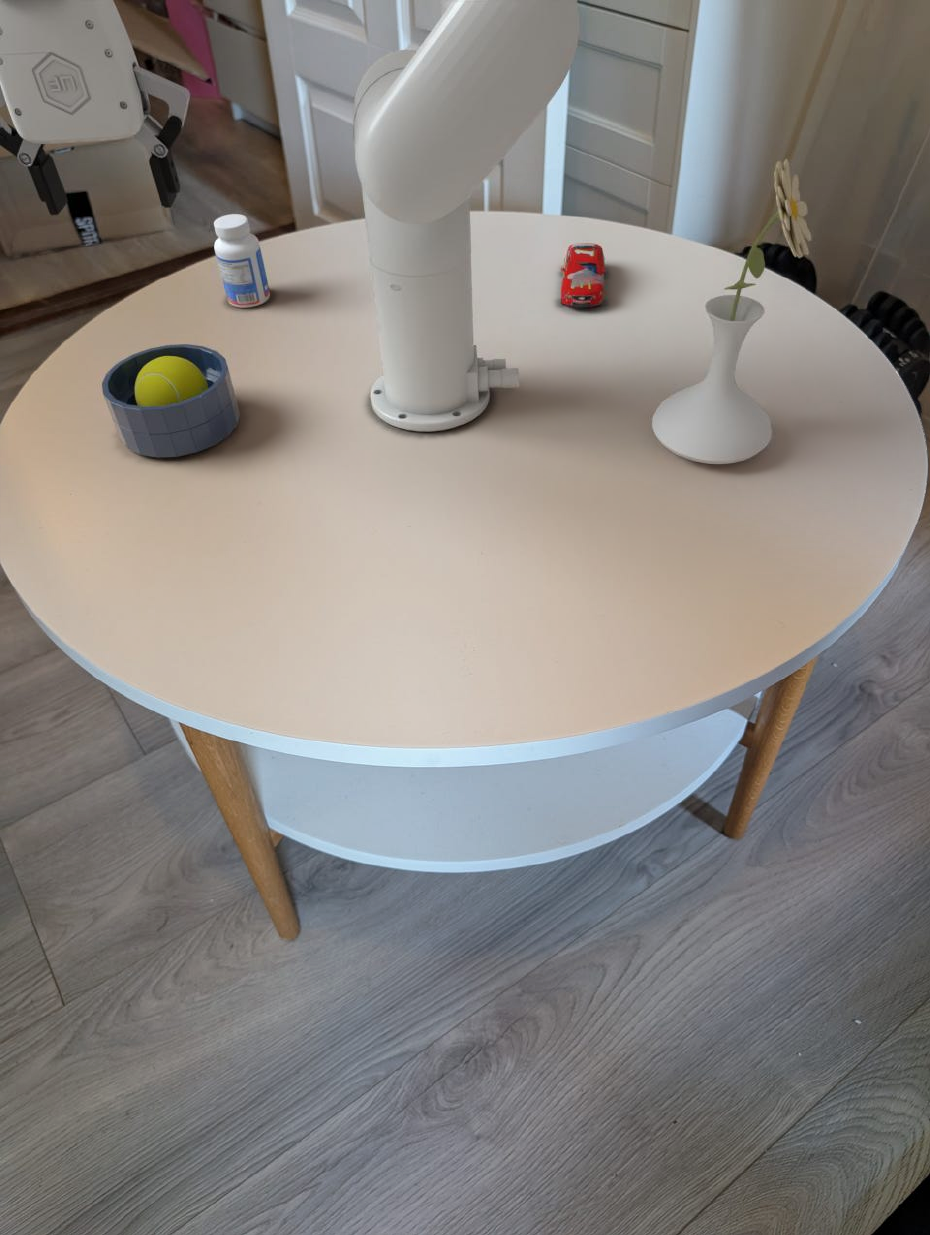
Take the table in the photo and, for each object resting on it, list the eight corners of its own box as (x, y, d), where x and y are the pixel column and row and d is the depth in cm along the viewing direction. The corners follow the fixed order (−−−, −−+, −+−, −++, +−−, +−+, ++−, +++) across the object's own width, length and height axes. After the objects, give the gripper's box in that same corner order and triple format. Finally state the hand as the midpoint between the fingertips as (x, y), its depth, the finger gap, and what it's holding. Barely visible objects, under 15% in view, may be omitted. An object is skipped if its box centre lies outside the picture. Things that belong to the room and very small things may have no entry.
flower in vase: (728, 491, 80) (793, 213, 62) (626, 444, 86) (659, 177, 68) (797, 428, 87) (874, 160, 69) (698, 389, 92) (745, 131, 74)
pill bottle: (249, 285, 113) (232, 207, 106) (279, 295, 111) (264, 217, 104) (218, 302, 110) (198, 223, 103) (248, 313, 108) (230, 233, 101)
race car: (602, 314, 105) (605, 282, 102) (557, 312, 105) (558, 280, 102) (606, 264, 113) (609, 233, 111) (565, 263, 114) (566, 232, 111)
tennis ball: (196, 446, 88) (176, 384, 83) (134, 437, 89) (112, 376, 84) (227, 408, 92) (211, 347, 87) (168, 400, 94) (149, 340, 89)
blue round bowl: (248, 392, 95) (235, 341, 91) (230, 458, 87) (215, 406, 82) (136, 397, 95) (119, 346, 91) (108, 464, 87) (87, 412, 82)
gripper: (-104, -17, 61) (2, 230, 73) (142, -34, 61) (207, 216, 73) (-63, -39, 66) (29, 195, 79) (164, -55, 66) (220, 182, 79)
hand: (115, 205), depth 76 cm, fingers open, 9 cm apart
